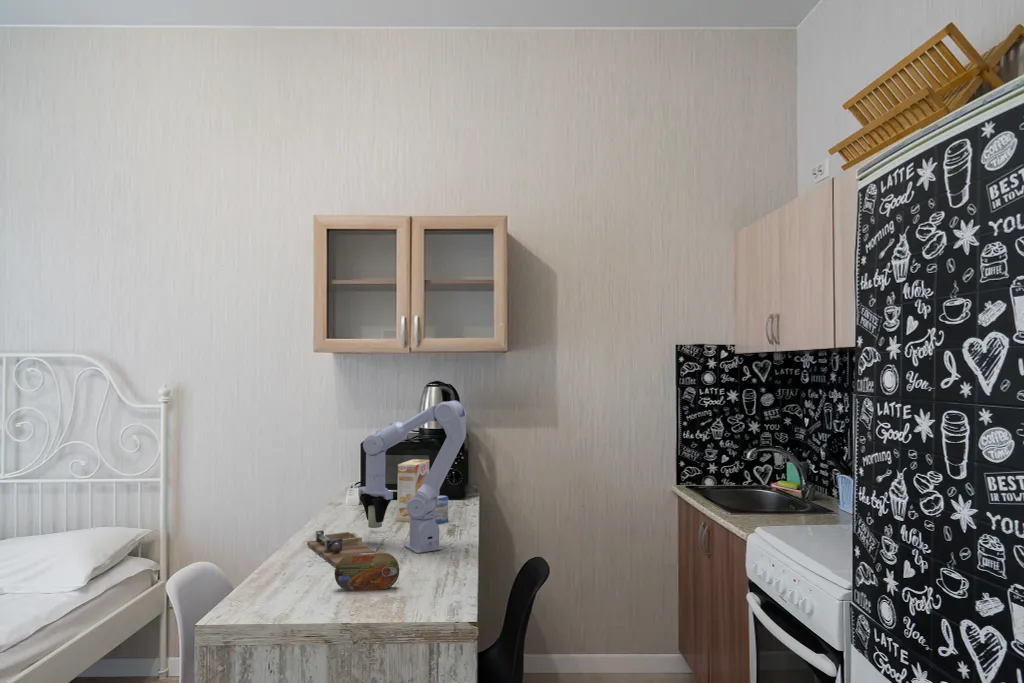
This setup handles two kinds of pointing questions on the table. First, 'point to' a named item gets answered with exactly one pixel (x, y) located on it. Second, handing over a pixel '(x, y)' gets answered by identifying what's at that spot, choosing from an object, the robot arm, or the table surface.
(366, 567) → the tin
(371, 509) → the cylinder
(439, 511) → the medicine box
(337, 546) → the steel shaft
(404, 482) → the coffeecake box
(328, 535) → the walnut base with seat
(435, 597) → the table surface
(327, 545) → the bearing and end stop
